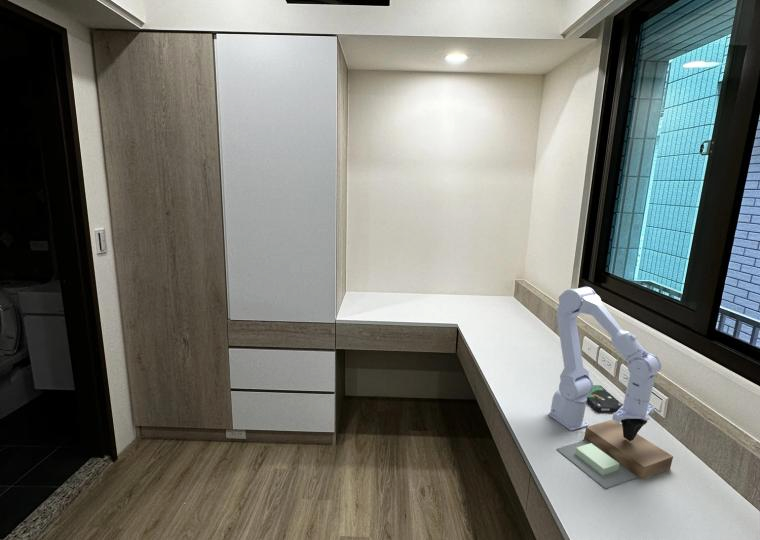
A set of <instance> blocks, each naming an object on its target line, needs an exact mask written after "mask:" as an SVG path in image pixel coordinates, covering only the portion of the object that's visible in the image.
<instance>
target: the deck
mask: <svg viewBox="0 0 760 540" xmlns="http://www.w3.org/2000/svg"><path fill="white" fill-rule="evenodd" d="M583 439H584V440H587V441H588V442H590V443H592V444H593V445H594V446H596V447H597V448H599V449H600V450H601V451H603V452H604V453H606V454H607V455H608V456H610V457H611V458H612V459H614V460H615V461H617V462H618V463H619V464H620V465H622V466H623V467H625V468H626V469H627V470H629V471H630V472H631V473H633V474H634V475H636V476H637V478H638V479H639V480H644V479H647V478H650V477H653V476H655V475H657V474H661V473H663V472H666V471H668V470H671V467H672V462H673V459H674V456H673V455H672V454H670V453H668V452H667V451H666V450H663V449H662V448H660V447H659V446H657V445H656V444H654V443H652V442H651V441H649V440H648V439H646V438H644V437H643V436H642V435H640V434H639V433H637V435H636V436H635V438H634V439H633V440H632V441H629V440H627V439H626V438H624V437H623V428H622V423H621V422H620V423H618V422H616V421H615V420H613V419H610V420H607V421H603V422H599V423H596V424H591V425H589V426H586V427H585V432H584V436H583Z"/></svg>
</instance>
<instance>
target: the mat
mask: <svg viewBox="0 0 760 540" xmlns="http://www.w3.org/2000/svg"><path fill="white" fill-rule="evenodd" d="M586 444H590V442H588V441H587V440H585V439H584V440H581V441H578V442H574V443H571V444H567V445H564V446H561V447H559V448H558V447H557V448H556V451H558V453H560V455H562V456H564V458H566V459H567V460H569V461H570V462H571V463H572V464H573V465H574V466H576V467H577V468H578V469H579V470H581V471H583V473H585V474H586V475H587V477H590V478H591V479H592V480H593V481H595V483H597V484H599V486H600V487H602V488H603V489H604V490H607V489H610V488H612V487H615V486H618V485H620V484H623V483H626V482H629V481H632V480H634V479H637V478H638V477H637V476H636V475H634V474H633V473H631V472H630V471H629V470H627V469H626V468H625V467H623V466H622V465H620V464H619V469H618V470H617V471H614V472H611V473H608V474H605V475H602V474H600V473H599V472H598V471H596V470H595V469H594V468H593V467H591V466H590V465H589V464H587V463H586V462H585V461H584V460H582V459H581V458H580V457H578V456H577V455H576V454H575V450H576V447H580V446H583V445H586Z"/></svg>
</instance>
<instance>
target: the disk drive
mask: <svg viewBox="0 0 760 540" xmlns="http://www.w3.org/2000/svg"><path fill="white" fill-rule="evenodd" d="M593 386H594V387H593V390H592V392H590V393H588V396H587V402H586V405H588V406H589V407H590V408H591V409H592V410H593V411H595V413H597V414H613V413H615V412H617V411H618V410H619V409H620V408H621V407H622V406H623V404H624V403H622V402H620V401H619V400H618V399H617V398H616V397H614V396H613V395H612V394H611V393H610V392H609V391H607V389H606V388H604V387H603V386H602V385H599V384H598V385H596V384H595V385H594V384H593Z"/></svg>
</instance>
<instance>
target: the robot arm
mask: <svg viewBox="0 0 760 540" xmlns="http://www.w3.org/2000/svg"><path fill="white" fill-rule="evenodd" d="M580 314H585V315H589V316H592V317H593V319H594V320H595V321H596V322H597V323H598V324H599V326H601V328H603V329H604V330H605V332H607V334H608V335H610V338H611V341H610V342H611V344H612V346H613V347H614V348H615V350H616V351H617V352H618V353H619V354H620V356H621V357H622V358H623V359H624V360H625V361H626V362H627V370H628V372H629V376H628V377H629V378H628V382H627V385H626V391H625V395H624V399H623V403H622V404H623V406H622V407H621V408H620V409H619V410H618V411H617V412H615V413H612V414H613V415H612V419H611V420H615V421H616V422H618V423H620V424H622V428H623V437H624V438H626V439H627V440H629V441H632V440H633V439H634V438H635V436H636V435H637V434H639V433H638V432H640V430H641V429H642V427H643V426H645V425H646V424H647V423H648V421H649V420H650V419H651V417H650V416H649V414H650V415H653V414H654V412H655V406H653V405H651V404H650V400H651V397H652V396H651V395H652V391H653V388H654V382H655V377H656V374H658V373H659V372H660V371H661V369H662V364H661V362H660V360H659V358H658V357H657V356H656V355H655V354H653V353H651V352H649V351H648V349H645V348H644V347H643V346H642V345H641V344H640V342H639V341H638V340H637V338H638V337H637V336H636V335H635V334H634V333H633V334H632V333H631V332H630V331H627V330H624V329H622V328H621V326H620V325H619V323H618V322H617V321H616V319H614V318H615V317H613V316H612V314H611V313H610V312H609V311H608V309H607V308H606V307H605V305H604V304H603V302H602V299H601V297H600V295H598V294H597V293H596V291H595V290H594V289H593V288H592V287H589V286H582V287H579V288H573V289H566V290H564V291H563V292H562V293H561V294H560V295H559V296H558V306H557V310H556V319H557V320H556V321H557V325H558V326H557V327H558V334H559V340H560V347H561V354H562V359H563V366H564V368H563V370H562V371H561V373H560V375H559V379H560V382H559V386H558V389H557V390H556V391H554V394H553V397H552V401H551V405H550V406H551V407H550V412H548V416H550V417H551V418H552V419H554V420H555V421H557V422H558V423H559V424H561V425H562V426H563V427H566V429H567V430H569V431H575V430H580V429H582V428H586V427H588V426H590V425H589V423H588V422H586V421H584V416H585V411H586V406H587V403H586V402H587V396H588V393H590V392H592V390H593V387H594V386H593V385H594V382H593V379H592V378H591V377H590V374H589V370H587V369H586V368H585V367H584V364H583V362H584V361H583V357H582V350H581V349H582V348H581V344H580V343H581V342H580V337H579V331H578V324H577V322H578V321H577V317H578V316H579V315H580Z"/></svg>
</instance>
